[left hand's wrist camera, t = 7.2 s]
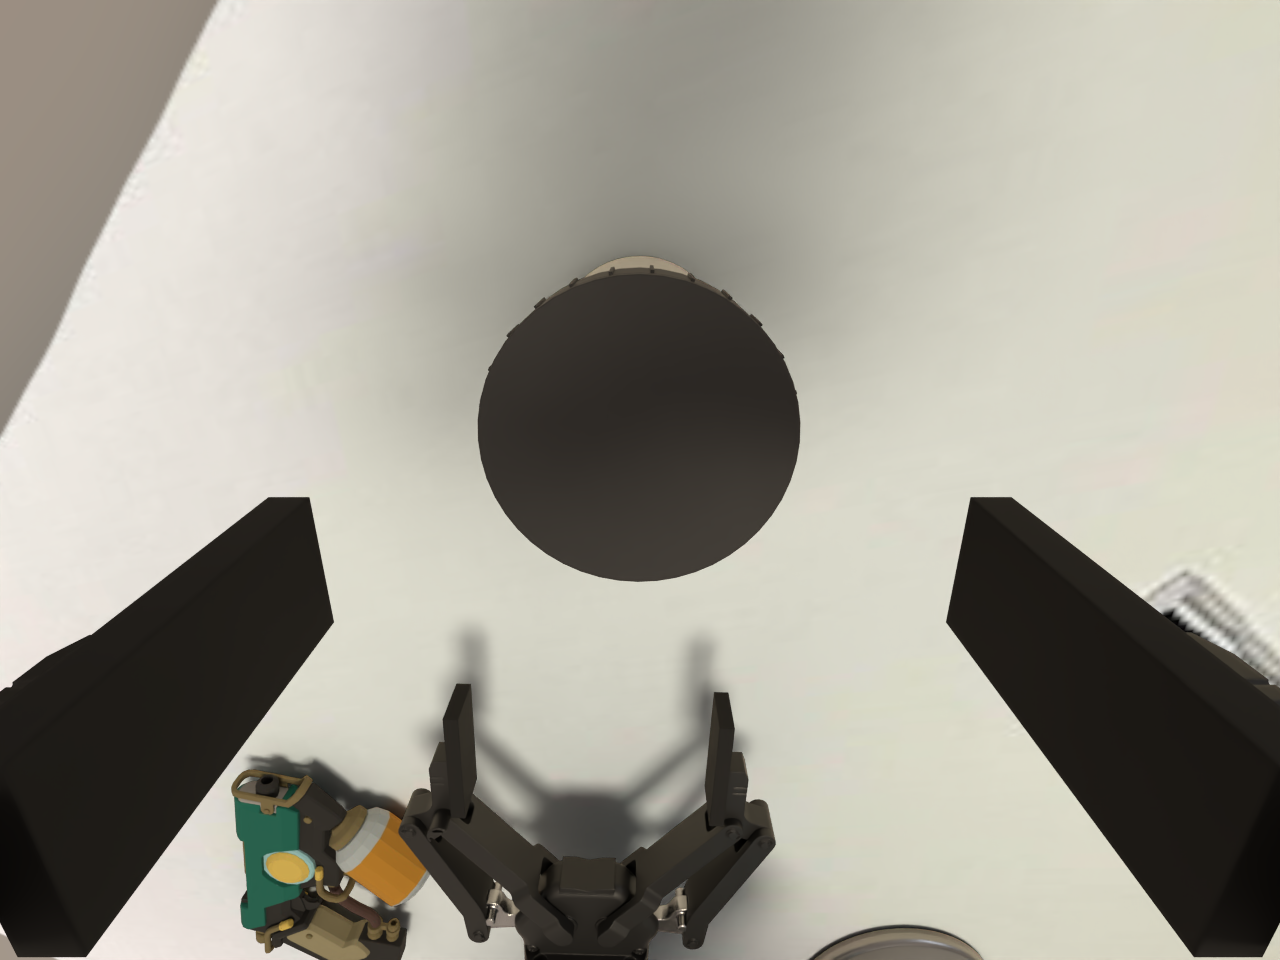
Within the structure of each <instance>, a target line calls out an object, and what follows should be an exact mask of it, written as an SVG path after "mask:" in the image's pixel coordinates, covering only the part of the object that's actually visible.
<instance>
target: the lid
mask: <svg viewBox="0 0 1280 960" xmlns="http://www.w3.org/2000/svg"><path fill="white" fill-rule="evenodd" d="M534 308H535V310H534V311H533V312H532V313H531V314H530V315H529V316H528V317H527V318H525V319H524V320H523V321H522V322H521V323H520V324H518V325H517V326H516V327H514V328H513V329H512V330H511V331H510V332H509V333H508V334H507V337H508V339H507V340H506V341H505V343H504V344H503V346H502V348H501V349H500V351H499V353H498V354H497V356H496V358H495V359H494V361H493V363H492V365H491V366H490V367H489V369H488V371H489V373H488V375H487V378H486V380H485V384H484V388H483V391H482V395H481V399H480V404H479V414H478V442H479V449H480V455H481V461H482V464H483V468H484V471H485V474H486V478H487V480H488V483H489V485H490V487H491V489H492V492H493V494H494V496H495V498H496V499H497V501H498V503H499V504H500V506H501V508H502V509H503V511H504V513H505V514H506V515H507V517H508V518H509V519H510V520H511V521H512V523H513V524H514V525H515V526H516V528H517V529H518V530H519V531H520V532H521V533H522V534H523V535H524V536H525V537H526V538H527V539H528V540H529V541H530V542H532V543H533V544H534V545H536V546H537V547H538V548H539V549H541V550H542V551H543V552H545V553H546V554H548V555H549V556H551V557H553V558H554V559H556V560H558V561H560V562H561V563H563V564H565V565H568V566H570V567H572V568H574V569H577V570H579V571H581V572H585V573H588V574H591V575H595V576H598V577H602V578H608V579H613V580H619V581H635V582H642V581H659V580H665V579H671V578H676V577H680V576H683V575H687V574H690V573H694V572H697V571H699V570H701V569H704V568H706V567H709V566H711V565H713V564H715V563H717V562H718V561H720V560H722V559H724V558H726V557H727V556H729V555H731V554H732V553H733V552H735V551H736V550H737V549H739V548H740V547H741V546H743V545H744V544H745V543H746V542H748V541H749V540H750V539H751V538H752V537H753V536H754V535H755V534H756V533H757V532H758V531H759V530H760V529H761V528H762V527H763V525H764V524H765V523H766V522H767V520H768V519H769V518H770V517H771V516H772V514H773V513H774V511H775V509H776V508H777V506H778V505H779V503H780V501H781V500H782V498H783V496H784V494H785V492H786V489H787V487H788V485H789V483H790V481H791V478H792V474H793V471H794V468H795V465H796V461H797V455H798V449H799V443H800V415H799V405H798V399H797V395H796V394H797V392H796V390H795V388H794V384H793V380H792V378H791V376H790V373H789V371H788V368H787V366H786V363H785V361H784V360H783V358H784V356H783V354H782V353H781V352H780V351H779V350H778V349H777V348H776V346H775V344H774V343H773V342H772V340H771V339H770V338H769V336H768V335H767V334H766V333H765V331H764V330H763V329H762V328H761V326H762V323H761V322H760V321H759V320H758V319H756V318H755V317H754V316H753V315H752V314H751V315H750V316H749V315H748V314H747V313H746V312H745V311H744V310H743V309H742V308H741V307H740V306H739V305H738V304H737V303H736V302H735V301H733V300H732V297H731V296H730V295H729V294H728V293H727V292H726V291H725V290H722V291H719V290H718V289H716V288H714V287H712V286H710V285H708V284H706V283H705V282H703V281H701V280H698V279H695V278H694V277H693V275H692V274H691V273H688V274H687V275H684V274H682V273H677V272H673V271H668V270H664V269H655V268H654V266H653V265H650V268H642V267H638V268H621V269H615V267H611V268H610V270H609V271H605V272H600V273H597V274H594V275H591V276H588V277H585V278H582V279H580V280H578V278H575V279H574V280H573V281H572V282H571V283H570V284H569V285H568V286H566V287H564V288H562V289H560V290H559V291H558V292H556V293H555V294H553V295H552V296H550V297H549V298H548V299H545V297H544V298H543V299H542V300H540V301H539V302H538V303H537V304H536V305H535V306H534Z"/></svg>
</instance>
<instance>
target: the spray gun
mask: <svg viewBox="0 0 1280 960" xmlns="http://www.w3.org/2000/svg"><path fill="white" fill-rule="evenodd" d="M247 777H258V778H260V779H259V780H258V781H251V782H248V783H245V784H243V785H241V786H240V787H239V788H238V786H239V785H240V783H241V782H242V781H243V780H244V779H245V778H247ZM312 781H313V780H312V778H310V777H309V776H308V775H306V776H304V777H303V778H301V779H300V778H294V777H289V776H284V775H279V774H274V773H269V772H264V771H259V770H246V771H244V772H242V773H241V774H240V775H239V776H238V777H237V778H236V780H235V781H234V782H233V784H232V787H231V790H232V794H233V796H234V801H235V817H236V832H237V836H238V838H239V839H240V841H243V852H244V866H245V873H246V881H247V891H246V892H245V894H244V895H243V897H242V899H241V905H240V908H241V923H242V925H243V927H245V928H246V929H251V930H255V931H256V940H257V942H259V943H265V952H266V953H270V952H271V951H272V950H273V949H274V947H275V948H277V947H280V946H282V944H283V943H285V944H287V945H290V946H292V947H294V948H296V949H298V950H300V951H302V952H304V953H306V954H308V955H311V956H313V957H315V958H317V959H319V960H401V958H402V955H403V952H404V950H405V946H406V935H407V929H405V928H400V922H399V920H398V919H397V918H392V919H391V920H390V921H389V922H388V923H384V922H383V919H382V917H381V916H379V915H378V913H377V912H376V911H375V910H373V909H372V908H370V907H368V906H366V905H364V904H362V903H360V902H358V901H357V900H355V899H353V898H352V897H350V896H349V894H350V892H351V891H352V889H353V887H354V884H355V881H357V882H358V883H360V884H361V885H363V886H364V887H365V888H367V889H368V890H369V891H371V892H372V893H373V894H375V895H376V896H378V897H379V898H380V899H382V900H383V901H384V902H386V903H387V904H389V905H390V906H393V907H394V906H396V905H399V904H402V903H404V902H406V901H408V900H409V899H411V898H412V897H413V896H414V895H416V893H417V892H418V891H419V890H420V889H421V888H422V886H423V885H424V883H425V882H426V880H427V879H428V877H429V875H430V873H429V872H428V871H427V870H426V868H425V867H424V866H423V865H422V863H421V862H420V861H419V860H418V858H417V857H416V856H415V854H414V853H413V852H412V851H411V849H410V848H409V847H408V846H407V844H406V843H405V842H404V841H403V839H402V838H401V837H400V835H399V833H398V829H399V827H400V824H401V822H402V820H401V819H399V818H398V817H397V816H395V815H394V814H392V813H391V812H390V811H387V810H384V809H381V808H378V807H375V808H371V809H368V810H367V809H366V808H364V807H363V806H361V805H358V806H356V807H354V808H352V809H351V810H349V811H346V810H345V809H344V808H343V807H342V806H341V805H340V804H339V803H338V802H336V801H335V800H334V799H333V798H332V797H331V796H329V795H328V794H327V793H326V792H325V791H323V790H322V789H321V788H320V787H319V786H317V785H316V784H315V783H312ZM288 783H290V784H295V785H291V786H290V787H289V788H288ZM296 785H300V787H299V788H298V787H297V786H296ZM237 788H238V789H237ZM331 829H332V834H330V830H331ZM343 875H345V876H349V878H350V879H349V881H348V884H347V886H346V888H345V890H344V891H343V890H342V889H341V887H340V882H341V880H342V878H343ZM323 885H327V886H328V888H329V891H330V892H328V891H327V890H325V889H324V886H323ZM312 886H316V890H317V893H318V895H319V896H320V897H321V898H323V899H324V900H326V901H328V902H333V903H339V904H340V905H341V906H343V907H344V908H346V909H348V910H349V911H351V912H353V913H355V914H357V915H359V916H361V917H363V918H365V919H366V920H360V921H358V922H352V921H350V920H349V919H347V918H345V917H343V916H342V915H340V914H338V913H336V912H335V911H333V910H331V909H329V908H328V907H326V906H324V905H321V903H322V901H323V900H322V899H320V898H311V897H310V896H308V894H307V892H305V891H304V890H303V888H307V887H312ZM271 938H272V941H271Z"/></svg>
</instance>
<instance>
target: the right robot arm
mask: <svg viewBox="0 0 1280 960" xmlns="http://www.w3.org/2000/svg"><path fill="white" fill-rule="evenodd" d="M443 729H444V741H445V742H439V744H438V747H437V749H436V752H435V754H434V757H433V760H432V762H431V765H430V768H429V775H430V783H431V784H430V785H431V792H430V791H429V790H427V789H422V788H420V789H417V790H415V791H414V792H413V793H412V796H411V798H410V801H409V804H408V806H407V809H406V811H405V814H404V816H403V819H402V822H401V824H400V827H399V829H398V833H399V835H400V837H401V838H402V839H403V841H404V842H405V843H406V844H407V846H408V847H409V848H410V849H411V851H412V852H413V853H414V854H415V856H416V857H417V858H418V860H419V861H420V862H421V863H422V865H423V866H424V867H425V868H426V870H427V871H428V872H429V873H430V875H431V876H432V877H433V878H434V880H435V881H436V882H437V884H438V885H439V886H440V887H441V889H442V890H443V891H444V892H445V894H446V895H447V896H448V897H449V899H450V900H451V901H452V903H453V904H454V905H455V906H456V908H457V909H458V910H459V911H460V913H461V914H462V915H463V917H464V921H465V925H466V929H467V933H468V936H469V938H470V939H471V940H472V941H474V942H478V943H481V942H485V941H487V940H488V938H489V934H490V929H491V928H498V927H516V930H517V932H518V933H519V934H520V935H521V936H522V938H523V940H524V951H525V960H648V950H649V942H650V941H651V939H652V938H653V937H654V936H655V935H656V933H657V931H660V932H669V933H678V934H682V938H683V945H684V947H686V948H688V949H697V948H700V947H701V946H702V944H703V942H704V938H705V935H706V931H707V928H708V924H709V923H710V922H711V921H712V919H713V918H714V917H715V916H716V915H717V914H718V912H719V911H720V910H721V909H722V908H723V907H724V905H725V904H726V903H727V902H728V901H729V900H730V898H731V897H732V896H733V895H734V894H735V893H736V891H737V890H738V889H739V888H740V887H741V886H742V884H743V883H744V882H745V881H746V880H747V879H748V877H749V876H750V875H751V874H752V873H753V872H754V870H755V869H756V868H757V867H758V866H759V865H760V863H761V862H762V861H763V860H764V859H765V858H766V856H767V855H768V854H769V853H770V852H771V851H772V849H773V848H774V847H775V845H776V842H775V837H774V832H773V827H772V823H771V818H770V813H769V809H768V805H767V803H766V802H765V801H763V800H753V801H751V802H750V803H749V802H746V793H747V787H748V775H747V769H746V764H745V759H744V757H743V754H742V752H732V748H733V740H734V731H735V728H734V722H733V716H732V711H731V705H730V700H729V694H728V693H722V692H714V698H713V708H712V718H711V728H710V738H709V748H708V758H707V769H706V779H705V792H706V801H707V802H706V803H705V804H704V805H703V806H701V807H700V808H699V809H698V810H696V811H695V812H694V813H692V814H691V815H690V816H689V817H687V818H686V819H685V820H684V821H682V822H681V823H680V824H678V825H677V826H676V827H675V828H673V829H672V830H671V831H670V832H668V833H667V834H666V835H665V836H663V837H662V838H661V839H659V840H658V841H657V842H656V843H654V844H653V845H652V846H651V847H649V848H648V849H645V848H644V847H640V848H639V849H637V850H636V851H635V852H634V853H632V854H631V855H630V856H629V857H627V858H626V859H625V860H623V861H622V862H621V863H617V862H616V858H598V859H591V860H588V859H583V858H579V857H564V856H563V861H559V860H558V859H557V858H556V857H554V856H553V855H552V854H551V853H550V852H549V851H548V850H546V849H545V848H544V847H543V846H542V845H540V844H536V845H534V846H532V845H531V844H530V843H529V842H528V841H527V840H525V839H524V838H523V837H522V836H521V835H520V834H518V833H517V832H516V831H515V830H514V829H513V828H512V827H510V826H509V825H508V824H507V823H506V822H505V821H504V820H502V819H501V818H500V817H499V816H498V815H497V814H495V813H494V812H493V811H492V810H491V809H490V808H489V807H487V806H486V805H485V804H484V803H483V802H482V801H481V800H479V799H478V798H477V797H476V796H475V795H474V794H473V790H474V787H475V783H476V780H477V773H476V757H475V741H474V726H473V710H472V694H471V684H456V686H455V689H454V692H453V694H452V697H451V699H450V702H449V705H448V707H447V710H446V712H445V715H444V717H443ZM493 879H494V880H495V881H496V882H494V881H493ZM687 879H688V880H687ZM685 880H687V882H686V884H685V887H684V889H683V888H677V889H676V890H675V897H674V898H672V900H671V901H670V902H669V903H668V904H666V905H660V902H661V900H662V898H663V897H664V896H665V895H667V894H668V893H669V892H671V891H672V890H673V889H675V888H676V887H677V886H679V885H680V884H681V883H683V882H684V881H685ZM502 886H503V887H504V888H505V889H506V890H507V891H509V892H510V894H511V896H512V900H510V899H508V898H507V897H506V895H505V894H504V892H502ZM814 960H983V959H982V958H981V957H980V955H979V954H978V953H977V952H976V951H975V950H974V949H972V948H971V947H970V946H968V945H967V944H965V943H964V942H962V941H960V940H958V939H956V938H954V937H952V936H949V935H946V934H943V933H939V932H936V931H930V930H924V929H915V928H895V929H885V930H878V931H873V932H868V933H864V934H861V935H858V936H855V937H852V938H849V939H847V940H844V941H842V942H840V943H838V944H836V945H834V946H832V947H831V948H829V949H827V950H826V951H824V952H823V953H822V954H820V955H819V956H818V957H816V958H815V959H814Z"/></svg>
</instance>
